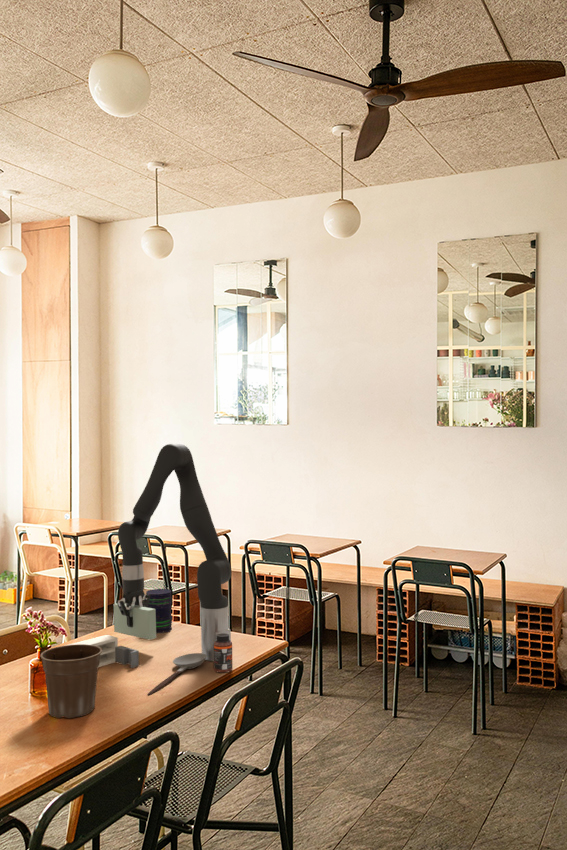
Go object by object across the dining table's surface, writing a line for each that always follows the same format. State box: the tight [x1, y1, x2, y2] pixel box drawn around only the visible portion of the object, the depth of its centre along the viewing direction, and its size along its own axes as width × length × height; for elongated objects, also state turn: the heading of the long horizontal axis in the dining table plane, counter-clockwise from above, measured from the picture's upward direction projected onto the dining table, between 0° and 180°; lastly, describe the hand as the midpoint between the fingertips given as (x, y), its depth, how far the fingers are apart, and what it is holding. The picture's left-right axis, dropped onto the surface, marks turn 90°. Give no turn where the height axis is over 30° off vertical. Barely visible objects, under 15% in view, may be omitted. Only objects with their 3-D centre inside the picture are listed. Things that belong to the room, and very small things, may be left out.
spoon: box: [147, 652, 206, 696], centre depth 227 cm, size 11×33×3 cm, turn 161°
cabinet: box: [64, 634, 140, 669], centre depth 236 cm, size 16×23×8 cm
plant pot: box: [40, 644, 102, 719], centre depth 201 cm, size 16×16×16 cm
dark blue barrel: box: [145, 588, 173, 634], centre depth 285 cm, size 10×10×15 cm
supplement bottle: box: [213, 633, 233, 674], centre depth 233 cm, size 6×6×11 cm
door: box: [113, 602, 157, 641], centre depth 260 cm, size 4×20×10 cm, turn 49°
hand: (134, 625), depth 260 cm, fingers closed on door, 3 cm apart
